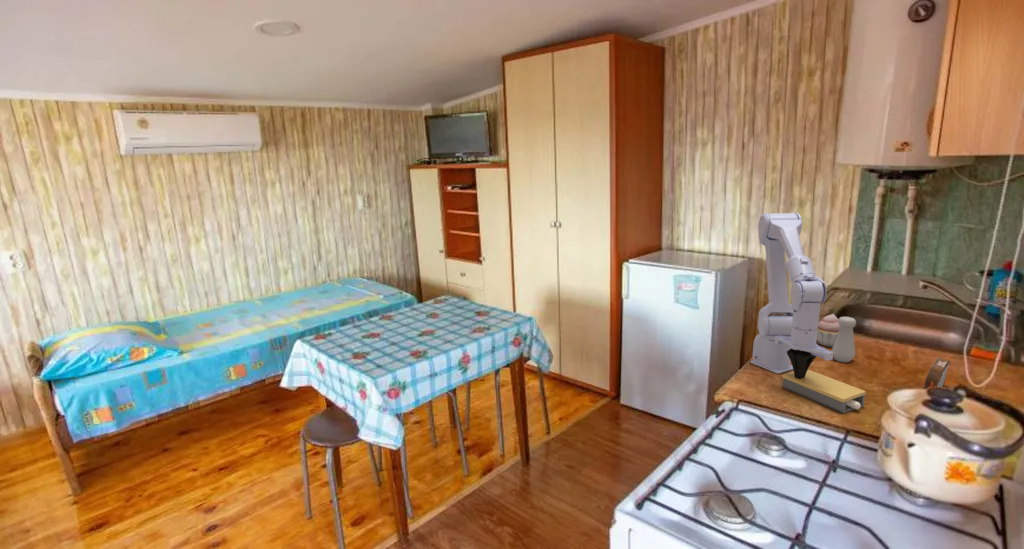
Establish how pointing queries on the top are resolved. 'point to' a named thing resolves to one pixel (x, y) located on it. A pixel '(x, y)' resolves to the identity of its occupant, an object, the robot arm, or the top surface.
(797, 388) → the cable duct
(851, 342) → the salt shaker
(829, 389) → the duct cover
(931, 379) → the tin
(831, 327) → the cupcake
